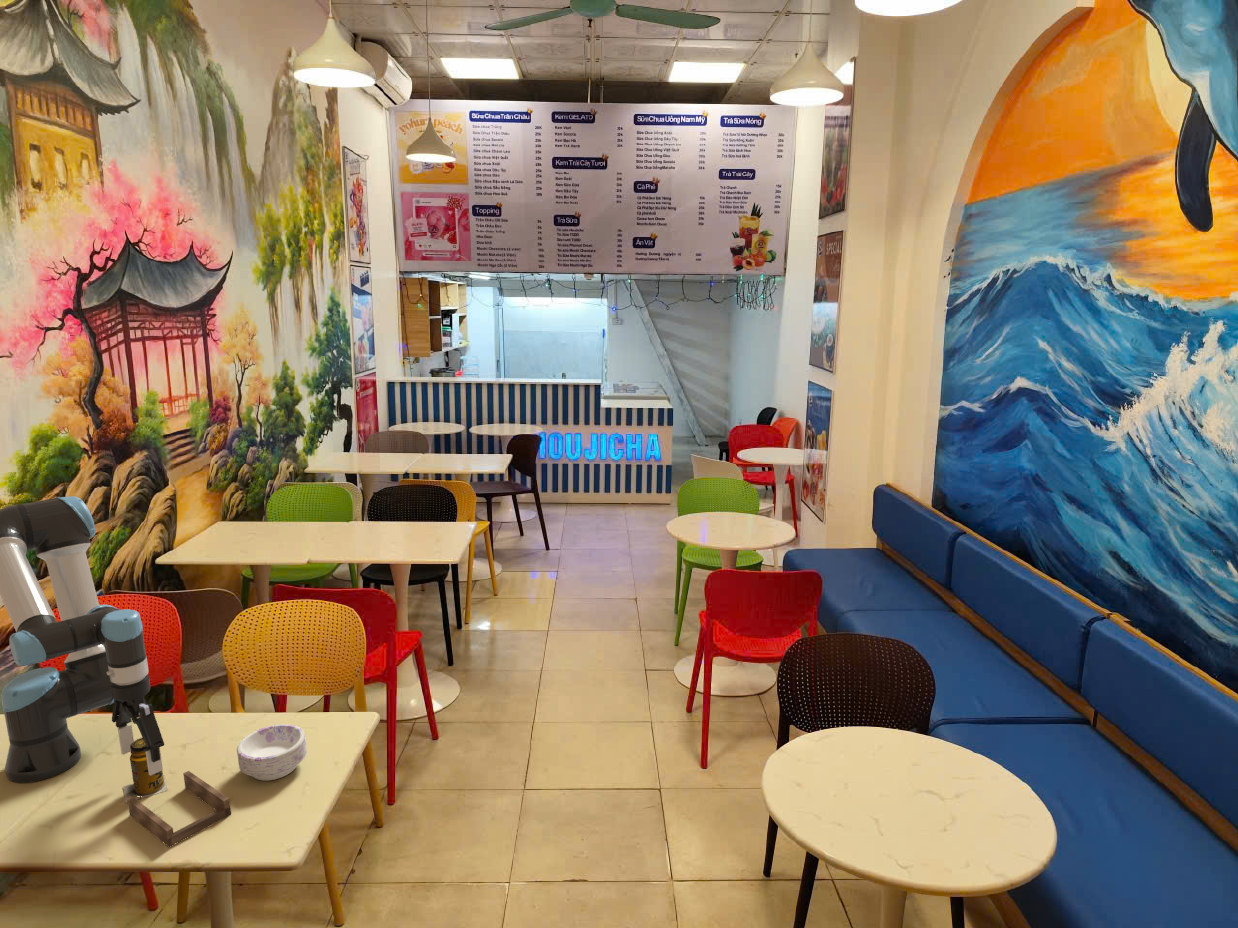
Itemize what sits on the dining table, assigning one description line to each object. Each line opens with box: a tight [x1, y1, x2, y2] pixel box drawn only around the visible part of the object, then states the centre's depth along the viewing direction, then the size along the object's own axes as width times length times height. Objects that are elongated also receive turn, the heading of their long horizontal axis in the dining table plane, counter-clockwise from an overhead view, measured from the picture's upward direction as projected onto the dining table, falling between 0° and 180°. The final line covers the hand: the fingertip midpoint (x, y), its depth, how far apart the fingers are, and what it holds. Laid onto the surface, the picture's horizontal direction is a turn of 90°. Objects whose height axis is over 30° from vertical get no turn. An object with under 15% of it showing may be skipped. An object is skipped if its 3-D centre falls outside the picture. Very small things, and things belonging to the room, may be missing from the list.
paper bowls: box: [236, 723, 308, 782], centre depth 197 cm, size 15×15×8 cm
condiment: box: [122, 737, 169, 804], centre depth 189 cm, size 7×8×12 cm
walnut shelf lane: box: [127, 770, 232, 848], centre depth 181 cm, size 18×13×4 cm
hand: (141, 761), depth 189 cm, fingers open, 13 cm apart
